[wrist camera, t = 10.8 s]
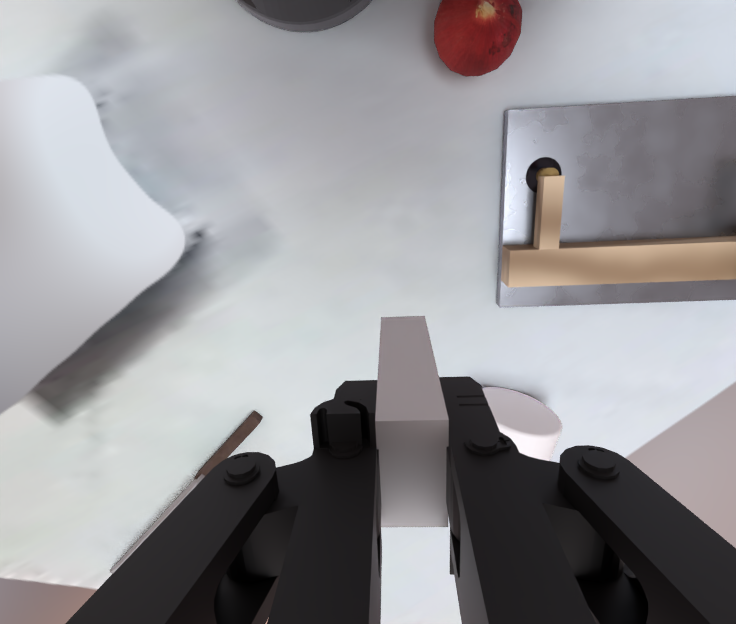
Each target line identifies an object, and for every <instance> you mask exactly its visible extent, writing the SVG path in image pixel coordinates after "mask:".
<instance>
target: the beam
mask: <svg viewBox="0 0 736 624" xmlns="http://www.w3.org/2000/svg"><path fill="white" fill-rule="evenodd" d="M536 179H537V181H538V184H537V199H536V214H535V229H534V244H527V245H503V246H502V269H501V281H502V282H503V283H504V284H505V285H506V286H507V287H536V286H564V285H591V284H619V283H647V282H674V281H702V280H729V279H736V236H717V237H693V238H670V239H646V240H622V241H598V242H574V243H559V240H560V228H561V217H562V205H563V193H564V181H565V176H562V175H559V172H558V170H557V169H555V168H541V169H540V170H538V172H537V174H536Z"/></svg>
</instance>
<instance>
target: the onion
mask: <svg viewBox="0 0 736 624" xmlns="http://www.w3.org/2000/svg"><path fill="white" fill-rule="evenodd" d="M521 21H522V9H521V6H520V4H519V2H518V0H442V1H441V3H440V5H439V8H438V11H437V15H436V18H435V21H434V42H435V45H436V48H437V51H438V54H439V56H440V58H441V60H442V61H443V62H444V63H445V64H446V65H447V67H448V68H449V69H450V70H451V71H454V72H456V73H458V74H461V75H463V76H480V75H483V74H486V73H488V72H491V71H493V70H495V69H497V68H498V67H499V66H500V65H501V64H502V63H503V62H504V61H505V60H506V59H507V58H508V57H509V56H510V55H511V53H512V51H513V49H514V47H515V45H516V42H517V40H518V38H519V36H520V33H521Z"/></svg>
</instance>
